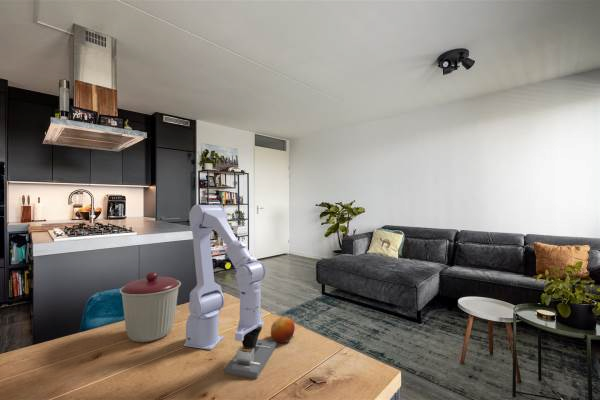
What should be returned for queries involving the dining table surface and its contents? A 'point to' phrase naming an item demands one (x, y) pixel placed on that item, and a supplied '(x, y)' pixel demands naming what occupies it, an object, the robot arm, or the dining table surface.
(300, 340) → the dining table surface
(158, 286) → the canister
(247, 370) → the board
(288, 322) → the fruit
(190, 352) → the dining table surface
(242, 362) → the fader cap
